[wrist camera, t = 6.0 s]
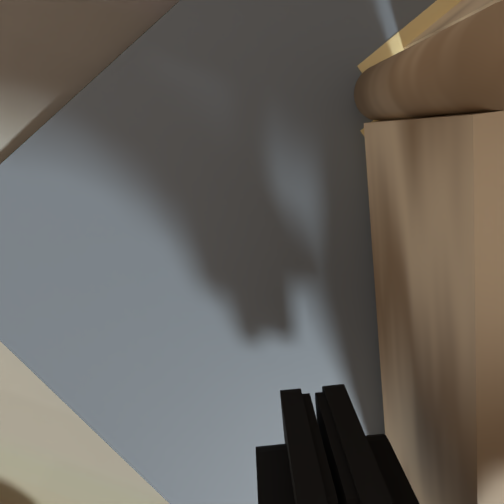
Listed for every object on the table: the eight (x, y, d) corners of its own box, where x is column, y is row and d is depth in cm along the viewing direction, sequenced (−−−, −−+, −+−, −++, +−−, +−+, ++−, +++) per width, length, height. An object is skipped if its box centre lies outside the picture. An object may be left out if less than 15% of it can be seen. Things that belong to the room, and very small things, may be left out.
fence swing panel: (346, 68, 12) (466, -5, 5) (411, 60, 12) (609, -26, 5) (377, 482, 15) (476, 740, 9) (429, 476, 15) (567, 730, 9)
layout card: (694, -464, 10) (710, -483, 10) (955, 187, 14) (973, 189, 13) (-87, 247, 14) (-95, 250, 13) (288, 610, 17) (289, 619, 17)
